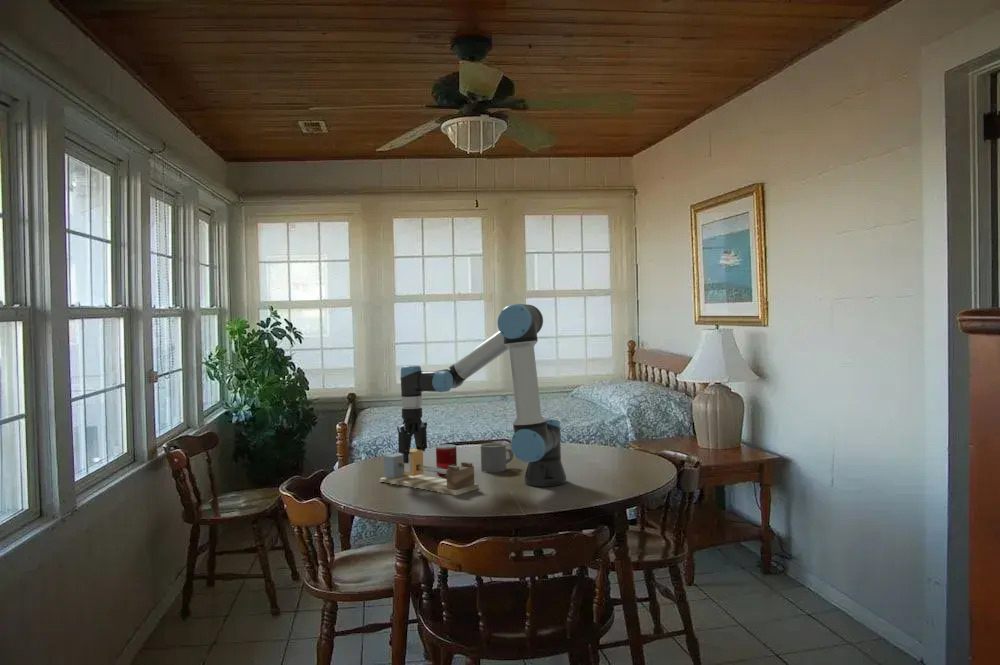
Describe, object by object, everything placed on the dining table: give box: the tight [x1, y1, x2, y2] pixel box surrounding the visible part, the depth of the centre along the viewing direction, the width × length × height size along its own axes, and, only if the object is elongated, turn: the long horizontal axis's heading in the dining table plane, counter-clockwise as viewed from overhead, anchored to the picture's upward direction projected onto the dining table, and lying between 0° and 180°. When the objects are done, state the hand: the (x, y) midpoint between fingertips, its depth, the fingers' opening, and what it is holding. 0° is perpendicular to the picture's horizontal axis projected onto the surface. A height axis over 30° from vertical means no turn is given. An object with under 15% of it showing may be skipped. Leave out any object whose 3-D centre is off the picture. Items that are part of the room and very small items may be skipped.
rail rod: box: [399, 463, 448, 474], centre depth 257 cm, size 29×4×4 cm, turn 52°
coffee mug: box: [480, 442, 514, 473], centre depth 281 cm, size 13×10×10 cm
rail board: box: [379, 461, 479, 496], centre depth 257 cm, size 38×12×9 cm, turn 52°
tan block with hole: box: [404, 448, 424, 476], centre depth 261 cm, size 5×5×9 cm
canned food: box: [435, 443, 458, 476], centre depth 275 cm, size 8×8×11 cm
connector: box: [383, 452, 406, 479], centre depth 267 cm, size 5×7×8 cm
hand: (413, 470), depth 261 cm, fingers closed on tan block with hole, 5 cm apart
